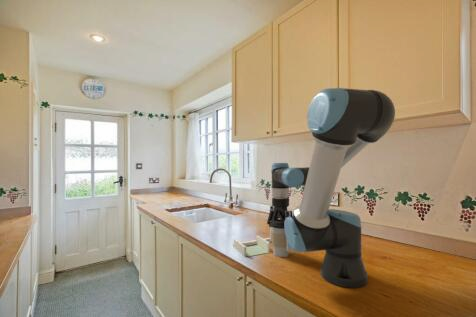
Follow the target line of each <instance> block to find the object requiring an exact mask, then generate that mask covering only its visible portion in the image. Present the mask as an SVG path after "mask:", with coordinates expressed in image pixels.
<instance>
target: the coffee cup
mask: <svg viewBox="0 0 476 317" xmlns="http://www.w3.org/2000/svg"><path fill="white" fill-rule="evenodd" d="M271 230H272V231H271V235H272V242H271V244H272V250H273V255H274V256H275V257H279V258H285V257H286V258H287V257H288V256H290V251H287V238H286V234H285V229H284V224H283V221H281V219H279V218H278V219H277V220H274V221H273V222H272V223H271Z"/></svg>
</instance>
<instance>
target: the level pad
mask: <svg viewBox="0 0 476 317" xmlns="http://www.w3.org/2000/svg"><path fill="white" fill-rule="evenodd" d="M269 253H270V252H268V251H266V250H265V249H263V248H262V247H260V246H259V245H257V244H256V245H253V246H252V245H250V246H246V256H245V257H253V256H258V255H265V254H269Z"/></svg>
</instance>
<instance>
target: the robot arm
mask: <svg viewBox="0 0 476 317" xmlns="http://www.w3.org/2000/svg"><path fill="white" fill-rule="evenodd" d="M395 118H396V109H395V104H394V102H393V101H392V99H391V98H390V97H389V96H388V95H387V94H385V93H384V92H381V91H378V90H375V89H358V88H357V89H355V88H345V87H344V88H343V87H335V88H334V87H332V88H330V87H329V88H324V89H322V90H320V91H319V92H318V93H317V94H316V95H315V96H314V97H313V99H311V102H310V104H309V107H308V111H307V114H306V119H307V122H306V123H307V127H308V129H309V130H310V131H311V137H312V138H313V139H314V140H315V144H314V146H313V150H312V151H313V152H312V154H311V155H312V156H311V160H310V164H309V167H307V166H306V167H289V166H290V165H289V163H288V162H273V163H272V164H271V170H270V172H271V197H272V198H271V206H269V214H268V218H267V221H266V224H267V225H268V226H269V238H270V241H271V242H270V243H272V235H271V231H272V230H271V223H272V222H273V221H274V220H277V219H281V221H283V224H284V229H285V234H286V238H287V251H289V252H291V251H294V252H296V253H309V252H318V251H325V254H324V257H323V259H322V260H323V261H322V263H321V266H320V276H321V277H322V278H323V279H324V280H325V281H327V282H328V283H330V284H333V285H336V286H340V287H344V288H350V289H352V288H353V289H355V288H356V289H357V288H362V287H364V286H366V285H367V284H368V282H369V279H368V273H367V271H366V267H365V264H364V261H363V257H362V228H363V227H362V222H361V217H360V215H358V214H357V213H354V212H350V211H346V210H340V209H333V208H332V209H331V208H330V206H331V202H332V198H333V196H334V192H335V189H336V185H337V183H338V179H339V177H340V172H341V169H342V168H343V167H344V166H345V165H347V164H348V163H349V162H350V161H351V160H352V159H353V158H354V157H356V156H357V155H358V154H359V153H360V152H362V150H364V149H365V148H366V147H367V146H369V144H374V143H377V142H378V141H379V140H380V139H381V138H382V137H384V135H386V133H388V131H389V130H390V128H392V125H393V123H394V120H395ZM298 187H304V189H303V193H302V197H301V202H300V205H298V206H296V207H295V208H294V210H293V211H292V210H288V207H289V206H290V198H289V197H290V191H289V190H290V188H298Z"/></svg>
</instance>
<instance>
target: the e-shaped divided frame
mask: <svg viewBox="0 0 476 317" xmlns="http://www.w3.org/2000/svg"><path fill="white" fill-rule="evenodd" d="M255 237H256V238H255V239H253V240H247V241H242V242H240V241H239V240H238V239H235V238H234V239H233V243H232V247H233V248H234V249H235V250H236V251H237V252H238V253H240V254H241V255H242V256H243V257H247V256H246V247H249V246H252V245H253V246H255V245H256V246H257V245H259V246H260V247H262V248H263V249H265V250H266V251H268V252H269V253H270V252H271V243H272V242H271V241H270V237H267V238H266V237H265V238H263V237H261V236H260V235H256V236H255Z"/></svg>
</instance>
